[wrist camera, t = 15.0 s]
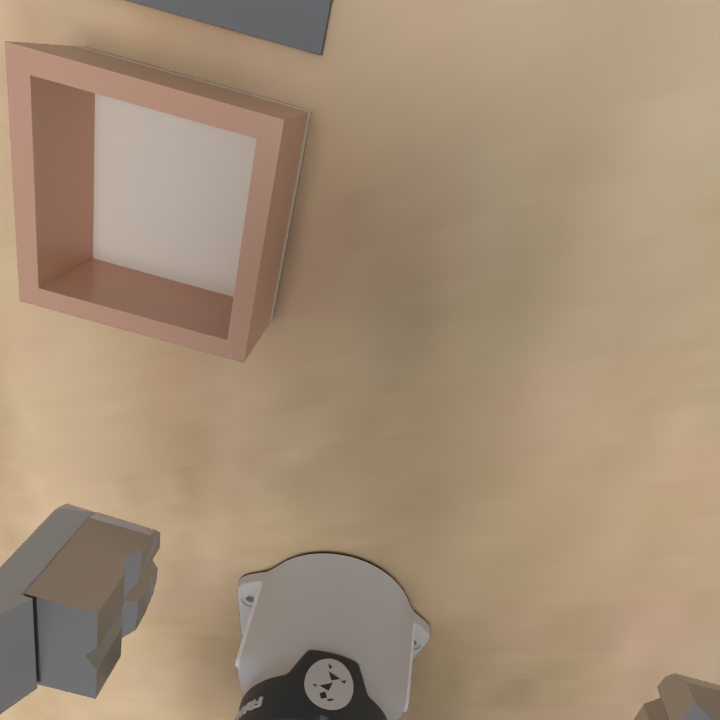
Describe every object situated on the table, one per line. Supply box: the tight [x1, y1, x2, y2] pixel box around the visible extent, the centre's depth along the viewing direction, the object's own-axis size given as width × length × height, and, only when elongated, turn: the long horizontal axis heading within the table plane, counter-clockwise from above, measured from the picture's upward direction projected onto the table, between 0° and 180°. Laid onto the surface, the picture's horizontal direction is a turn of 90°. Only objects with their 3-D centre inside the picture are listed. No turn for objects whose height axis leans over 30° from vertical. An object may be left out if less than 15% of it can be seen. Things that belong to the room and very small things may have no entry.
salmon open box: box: [5, 41, 312, 362], centre depth 33 cm, size 14×14×7 cm
